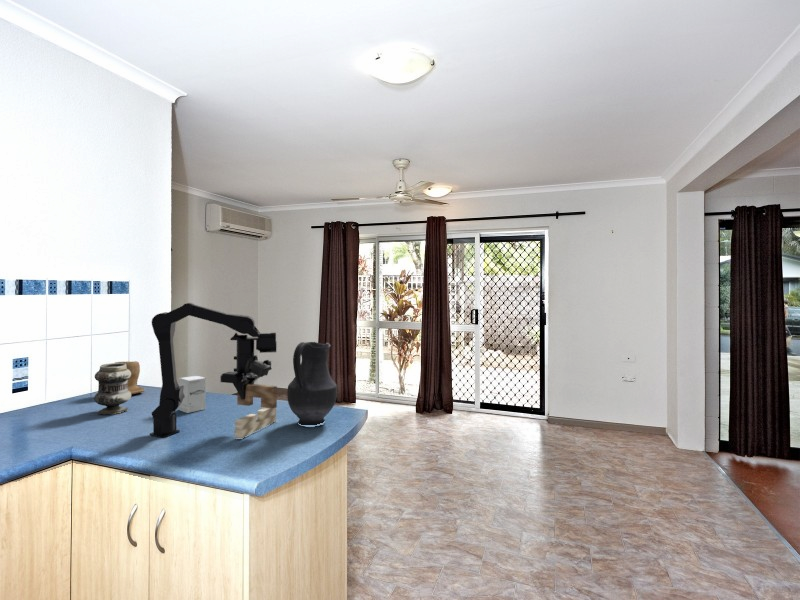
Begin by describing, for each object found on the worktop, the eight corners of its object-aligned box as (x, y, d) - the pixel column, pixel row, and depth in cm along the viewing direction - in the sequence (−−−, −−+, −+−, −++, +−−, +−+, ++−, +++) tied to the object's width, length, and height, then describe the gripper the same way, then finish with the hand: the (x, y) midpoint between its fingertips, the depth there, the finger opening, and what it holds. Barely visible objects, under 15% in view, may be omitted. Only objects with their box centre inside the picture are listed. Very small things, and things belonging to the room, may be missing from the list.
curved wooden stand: (134, 390, 209) (134, 357, 208) (149, 393, 202) (148, 360, 202) (98, 396, 196) (98, 362, 195) (113, 400, 189) (112, 364, 189)
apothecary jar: (118, 416, 168) (118, 367, 167) (86, 415, 168) (85, 367, 167) (138, 407, 180) (137, 362, 179) (108, 407, 180) (107, 361, 179)
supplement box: (187, 413, 172) (187, 380, 172) (178, 410, 177) (178, 377, 177) (206, 409, 178) (206, 377, 178) (196, 406, 183) (196, 375, 182)
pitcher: (343, 419, 168) (344, 338, 167) (319, 437, 148) (319, 345, 147) (301, 414, 173) (302, 336, 172) (271, 431, 153) (272, 342, 152)
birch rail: (241, 440, 144) (241, 421, 144) (235, 439, 145) (235, 420, 145) (276, 422, 163) (276, 405, 163) (270, 421, 164) (270, 404, 164)
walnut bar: (276, 406, 153) (276, 386, 153) (273, 408, 151) (273, 387, 151) (241, 403, 157) (241, 382, 157) (237, 404, 155) (237, 384, 155)
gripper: (249, 358, 143) (248, 407, 144) (281, 350, 161) (280, 394, 162) (219, 356, 147) (219, 404, 147) (254, 348, 165) (253, 391, 165)
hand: (245, 398), depth 155 cm, fingers closed on walnut bar, 2 cm apart
